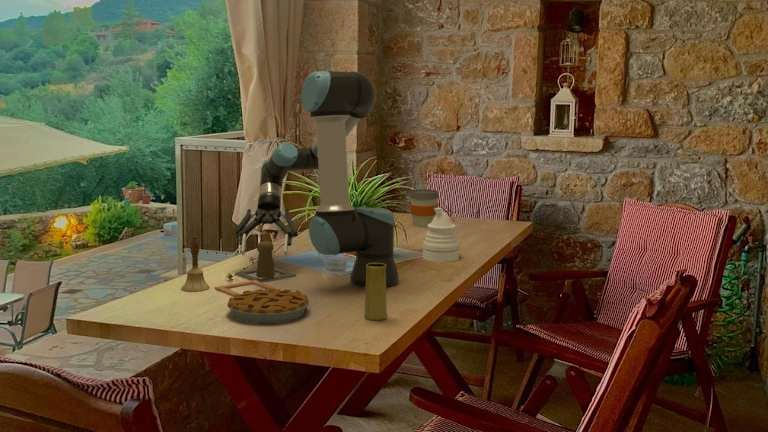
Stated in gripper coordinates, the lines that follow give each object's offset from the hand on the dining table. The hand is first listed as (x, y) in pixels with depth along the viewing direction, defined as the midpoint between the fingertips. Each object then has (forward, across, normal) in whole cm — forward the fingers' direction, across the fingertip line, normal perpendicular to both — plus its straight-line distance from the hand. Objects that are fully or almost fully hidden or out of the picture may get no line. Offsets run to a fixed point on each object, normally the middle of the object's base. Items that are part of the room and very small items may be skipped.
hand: (264, 253), depth 257 cm
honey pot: (-15, -59, -25) cm, 66 cm away
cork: (+5, 0, -5) cm, 7 cm away
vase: (+37, -36, +27) cm, 58 cm away
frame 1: (+18, +2, +8) cm, 20 cm away
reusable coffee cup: (-59, -56, -70) cm, 108 cm away
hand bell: (+17, +18, +7) cm, 26 cm away
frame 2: (+5, 0, -5) cm, 7 cm away
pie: (+35, -7, +24) cm, 43 cm away
